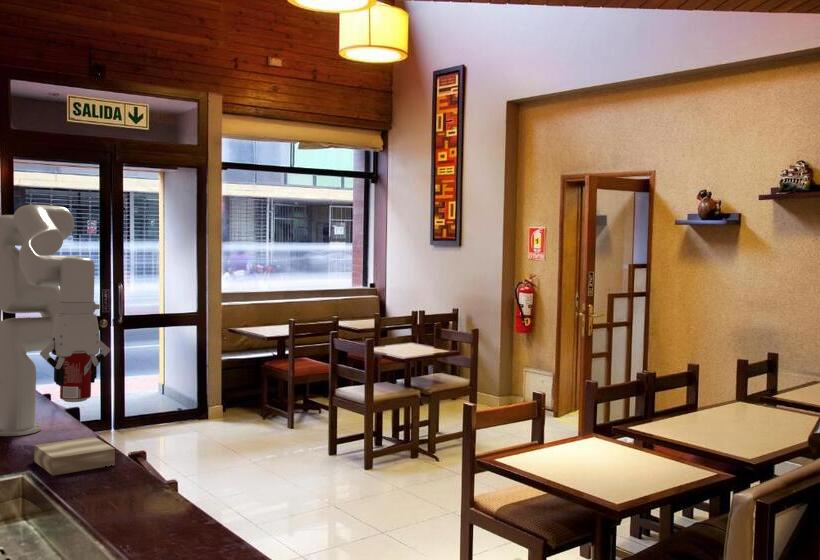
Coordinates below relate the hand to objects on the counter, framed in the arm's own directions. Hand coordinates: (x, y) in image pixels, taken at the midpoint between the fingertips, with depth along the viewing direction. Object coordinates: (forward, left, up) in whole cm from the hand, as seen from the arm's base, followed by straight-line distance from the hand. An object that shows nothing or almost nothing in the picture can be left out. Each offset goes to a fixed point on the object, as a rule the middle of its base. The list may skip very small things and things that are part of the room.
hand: (75, 382), depth 177 cm
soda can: (0, 0, -4) cm, 4 cm away
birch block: (0, 0, -19) cm, 19 cm away
